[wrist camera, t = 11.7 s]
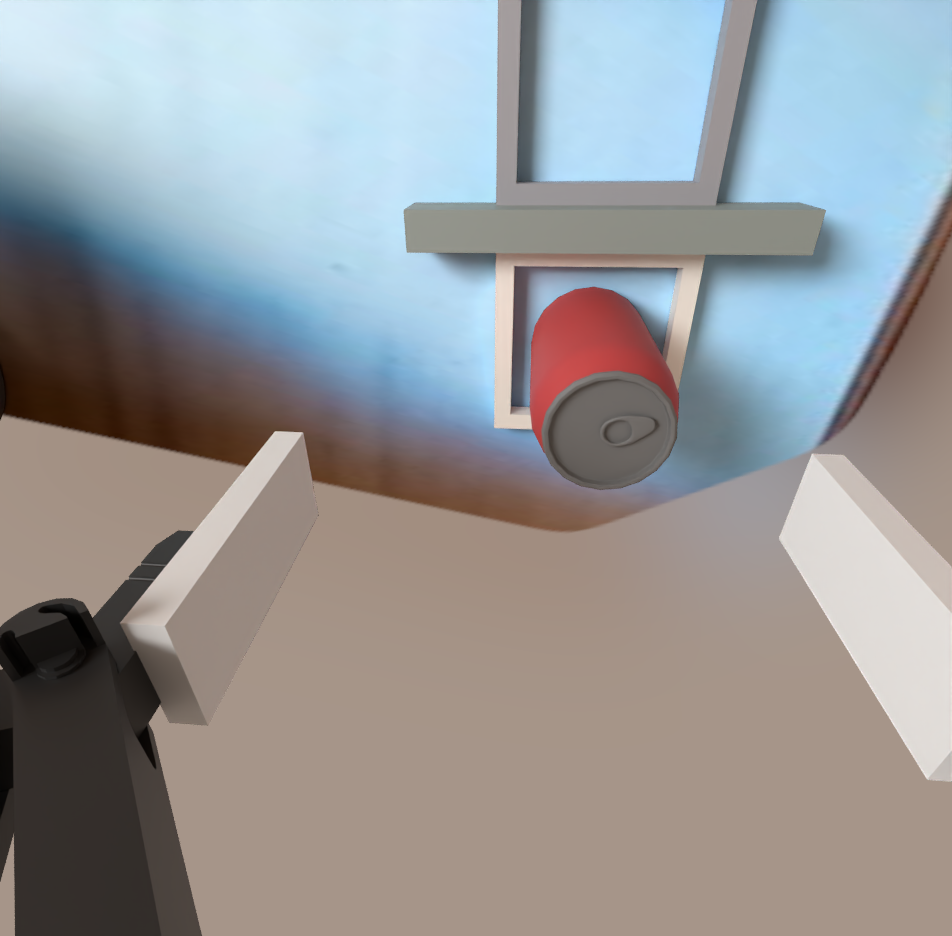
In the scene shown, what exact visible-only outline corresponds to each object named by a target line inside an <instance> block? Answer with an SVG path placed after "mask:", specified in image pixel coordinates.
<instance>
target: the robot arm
mask: <svg viewBox="0 0 952 936" xmlns="http://www.w3.org/2000/svg"><path fill="white" fill-rule="evenodd" d="M4 406H5V388H4V382H3V378H2V374H1V371H0V419H1V417H2V415H3V411H4ZM317 517H318V509H317V504H316V499H315V494H314V488H313V482H312V477H311V472H310V466H309V461H308V456H307V450H306V445H305V439H304V434H303V432H281V431H275V432H274V433H273V435H272V436H271V437H270V438H269V440H268V441H267V442H266V443H265V444H264V446H263V447H262V448H261V449H260V451H259V452H258V453H257V454H256V456H255V457H254V458H253V459H252V461H251V462H250V463H249V464H248V465H247V467H246V468H245V469H244V470H243V472H242V473H241V474H240V475H239V477H238V478H237V479H236V480H235V482H234V483H233V484H232V485H231V487H230V488H229V489H228V490H227V491H226V493H225V494H224V495H223V496H222V498H221V499H220V500H219V501H218V503H217V504H216V505H215V506H214V507H213V509H212V510H211V511H210V512H209V514H208V515H207V516H206V517H205V519H204V520H203V521H202V522H201V524H200V525H199V526H198V527H197V528H196V530H195V531H177V532H175V533H174V534H172V535H171V536H169V537H168V538H166V539H165V540H163V541H162V542H160V543H159V544H157V545H156V546H155V547H154V548H153V550H152V551H151V552H150V553H149V554H148V555H147V556H146V558H145V559H144V560H143V561H142V562H141V563H142V564H141V566H138V567H137V568H136V569H135V570H134V571H133V572H132V574H131V575H130V576H129V580H126V581H125V582H124V583H123V584H122V585H121V586H120V587H119V588H118V590H117V591H116V592H115V593H114V594H113V595H112V597H111V598H110V599H109V600H108V601H107V602H106V603H105V604H104V606H103V607H102V608H101V609H100V610H99V611H98V613H97V614H96V615H95V616H94V617H93V618H92V616H91V614H90V613H89V611H88V609H87V607H86V606H85V604H84V603H83V602H81V601H78V600H76V599H73V598H68V599H67V598H66V599H65V598H63V599H54V600H49V601H46V602H42V603H38V604H36V605H34V606H32V607H30V608H27V609H25V610H23V611H21V612H19V613H18V614H16V615H15V616H13V617H12V618H11V619H9V620H8V621H7V622H5V623H4V624H3V625H2V626H1V627H0V665H1V666H2V668H3V669H2V670H0V881H1V877H2V873H3V870H4V866H5V863H6V859H7V855H8V852H9V848H10V845H11V841H12V837H13V834H14V873H15V874H14V876H15V936H202V934H201V930H200V926H199V922H198V918H197V913H196V909H195V906H194V901H193V897H192V892H191V888H190V885H189V880H188V876H187V872H186V868H185V863H184V859H183V855H182V851H181V847H180V842H179V838H178V834H177V830H176V826H175V821H174V817H173V813H172V809H171V805H170V801H169V796H168V792H167V788H166V784H165V780H164V776H163V771H162V767H161V763H160V759H159V755H158V750H157V746H156V742H155V738H154V734H153V731H152V729H151V727H150V725H149V721H150V720H151V718H152V716H153V715H154V713H155V712H156V710H157V708H158V707H159V705H161V707H162V709H163V711H164V713H165V715H166V717H167V719H168V721H169V722H170V723H181V724H194V725H207V726H208V725H209V723H210V721H211V719H212V717H213V715H214V713H215V711H216V709H217V707H218V705H219V704H220V702H221V700H222V698H223V696H224V694H225V692H226V690H227V688H228V687H229V685H230V683H231V681H232V679H233V677H234V675H235V673H236V671H237V669H238V667H239V665H240V663H241V662H242V660H243V658H244V656H245V654H246V652H247V650H248V648H249V647H250V645H251V643H252V641H253V639H254V637H255V635H256V633H257V631H258V629H259V628H260V626H261V624H262V622H263V620H264V618H265V616H266V614H267V612H268V610H269V608H270V606H271V605H272V603H273V601H274V599H275V597H276V595H277V593H278V591H279V589H280V588H281V585H282V584H283V582H284V580H285V578H286V576H287V574H288V572H289V570H290V568H291V567H292V565H293V563H294V561H295V559H296V557H297V555H298V553H299V551H300V549H301V547H302V546H303V544H304V542H305V540H306V538H307V536H308V534H309V532H310V530H311V528H312V527H313V525H314V523H315V521H316V519H317ZM779 540H780V541H781V543H782V544H783V546H784V548H785V549H786V551H787V553H788V554H789V556H790V557H791V559H792V560H793V562H794V564H795V566H796V567H797V569H798V570H799V572H800V574H801V575H802V577H803V578H804V580H805V582H806V583H807V585H808V587H809V588H810V590H811V591H812V593H813V595H814V596H815V598H816V600H817V601H818V603H819V605H820V606H821V608H822V609H823V611H824V613H825V614H826V616H827V617H828V619H829V621H830V622H831V624H832V626H833V627H834V629H835V631H836V632H837V634H838V635H839V637H840V639H841V640H842V642H843V644H844V645H845V647H846V648H847V650H848V652H849V653H850V655H851V657H852V658H853V660H854V661H855V663H856V665H857V666H858V668H859V669H860V671H861V673H862V674H863V676H864V678H865V679H866V681H867V682H868V684H869V686H870V687H871V689H872V690H873V692H874V694H875V695H876V697H877V699H878V700H879V702H880V704H881V705H882V707H883V709H884V710H885V712H886V713H887V715H888V717H889V718H890V720H891V721H892V723H893V725H894V726H895V728H896V730H897V731H898V733H899V734H900V736H901V738H902V739H903V741H904V743H905V744H906V746H907V747H908V749H909V751H910V752H911V754H912V756H913V757H914V759H915V760H916V762H917V764H918V765H919V767H920V769H921V770H922V772H923V774H924V775H925V777H926V778H927V780H938V781H951V782H952V567H951V566H950V565H949V564H948V563H947V562H946V561H945V560H944V559H943V557H941V556H940V554H939V553H938V552H937V551H936V550H935V549H934V548H933V547H932V546H931V545H930V544H929V543H928V542H927V541H926V540H925V539H924V538H923V537H922V536H921V535H920V534H919V533H918V532H917V531H916V530H915V528H914V527H913V526H911V524H910V523H909V522H908V521H906V519H905V518H904V517H903V516H902V515H901V514H900V513H899V512H898V511H897V510H896V509H895V508H894V507H893V506H892V505H891V504H890V503H889V502H888V501H887V500H886V499H885V497H884V496H883V495H881V493H880V492H879V491H878V490H877V489H876V488H875V487H874V486H873V485H872V484H871V483H870V482H869V481H868V480H867V479H866V478H865V477H864V476H863V475H862V474H861V473H860V472H859V471H858V469H856V467H855V466H854V465H853V464H852V463H851V462H850V461H849V460H848V459H847V458H846V457H845V456H844V455H832V454H831V455H830V454H812V455H811V458H810V460H809V463H808V465H807V468H806V470H805V473H804V476H803V478H802V481H801V483H800V486H799V488H798V491H797V494H796V496H795V498H794V501H793V504H792V506H791V509H790V511H789V514H788V517H787V519H786V521H785V524H784V527H783V529H782V532H781V534H780V537H779Z"/></svg>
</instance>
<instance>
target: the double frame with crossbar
mask: <svg viewBox="0 0 952 936" xmlns="http://www.w3.org/2000/svg"><path fill="white" fill-rule="evenodd" d="M756 4H757V0H726V1H725V6H724V12H723V17H722V23H721V29H720V34H719V40H718V45H717V51H716V57H715V62H714V68H713V73H712V79H711V85H710V90H709V96H708V101H707V107H706V113H705V118H704V124H703V129H702V135H701V141H700V146H699V152H698V157H697V163H696V169H695V174H694V180H693V181H565V182H517V160H518V122H519V84H520V46H521V8H522V0H498V71H497V187H496V203H414V204H412V205H411V206H409V207H408V208H406V209H404V221H405V235H406V248H407V252H412V253H496V302H495V418H494V428H509V429H532V424H531V415H530V407H516V406H511V388H512V350H513V312H514V274H515V266H552V267H659V268H678V269H677V275H676V280H675V286H674V292H673V297H672V303H671V308H670V314H669V320H668V325H667V331H666V336H665V342H664V348H663V353H662V356H663V358H664V360H665V362H666V364H667V365H668V367H669V369H670V371H671V373H672V375H673V378H674V381H675V384H676V387H677V390H678V389H679V384H680V379H681V374H682V369H683V364H684V359H685V354H686V349H687V344H688V340H689V335H690V330H691V325H692V320H693V315H694V310H695V305H696V300H697V295H698V290H699V285H700V280H701V275H702V270H703V265H704V260H705V256H706V255H813V252H814V249H815V245H816V242H817V239H818V235H819V232H820V229H821V225H822V222H823V219H824V215H825V212H826V210H824V209H820V208H817V207H813V206H810V205H806V204H803V203H716V201H717V196H718V191H719V186H720V181H721V176H722V172H723V167H724V162H725V157H726V152H727V147H728V142H729V137H730V132H731V127H732V122H733V117H734V112H735V107H736V102H737V97H738V92H739V88H740V83H741V78H742V73H743V68H744V63H745V58H746V53H747V48H748V43H749V38H750V33H751V28H752V23H753V18H754V13H755V8H756Z"/></svg>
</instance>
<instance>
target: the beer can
mask: <svg viewBox="0 0 952 936" xmlns="http://www.w3.org/2000/svg"><path fill="white" fill-rule="evenodd" d="M678 409H679V393H678V390H677V387H676V384H675V381H674V378H673V375H672V373H671V371H670V369H669V367H668V365H667V364H666V362H665V360H664V358H663V356H662V354H661V353H660V351H659V349H658V347H657V345H656V344H655V342H654V340H653V338H652V336H651V334H650V333H649V331H648V329H647V327H646V325H645V323H644V322H643V320H642V318H641V316H640V314H639V313H638V311H637V310H636V309H635V308H634V307H633V305H632V304H631V303H630V302H629V301H628V299H626V298H624V297H623V296H621V295H619V294H617V293H616V292H614V291H612V290H608V289H602V288H597V287H590V288H582V289H575V290H573V291H571V292H569V293H566V294H564V295H562V296H560V297H558V298H557V299H556V300H555V301H554V302H552V303H551V304H550V305H549V306H548V307H547V308H546V309H545V310H544V311H543V313H542V315H541V316H540V318H539V320H538V321H537V323H536V325H535V328H534V333H533V337H532V342H531V380H530V415H531V424H532V429H533V431H534V433H535V436H536V438H537V440H538V442H539V444H540V446H541V448H542V450H543V452H544V453H545V454H546V456H547V458H548V460H549V462H550V464H551V466H553V467H554V468H555V469H556V470H557V471H558V472H559V473H560V474H561V475H562V476H563V477H564V478H566V479H568V480H570V481H572V482H574V483H576V484H578V485H580V486H583V487H588V488H594V489H599V490H603V489H617V488H623V487H625V486H628V485H631V484H634V483H637V482H640V481H642V480H643V479H645V478H646V477H648V476H649V475H651V474H652V473H654V472H655V471H657V470H658V468H659V467H660V466H661V465H662V464H663V463H664V461H665V460H666V459H667V458H668V457H669V455H670V453H671V451H672V448H673V446H674V443H675V441H676V439H677V423H678Z"/></svg>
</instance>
